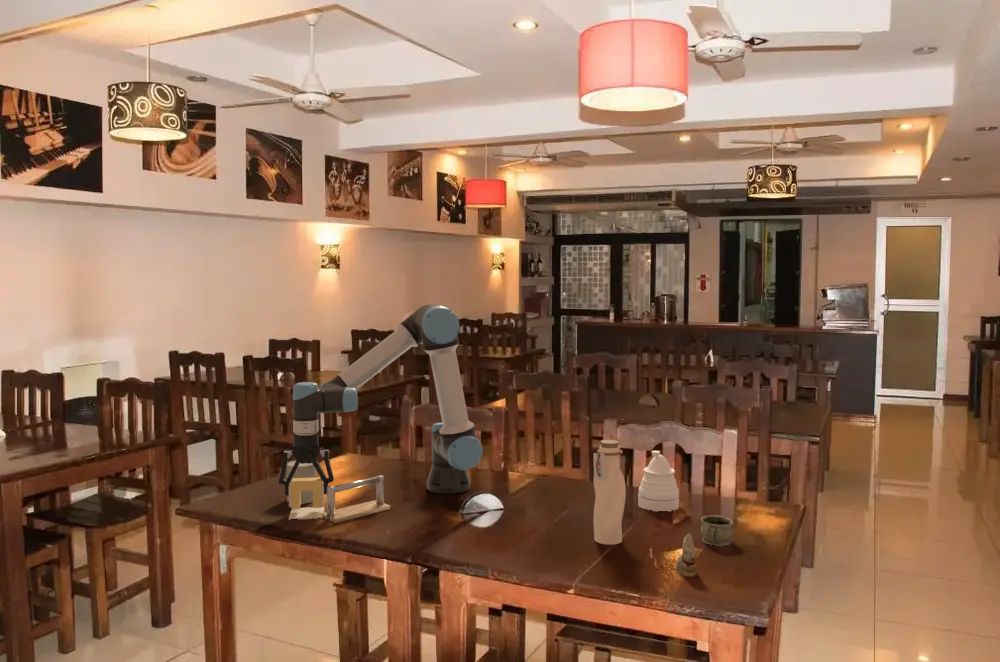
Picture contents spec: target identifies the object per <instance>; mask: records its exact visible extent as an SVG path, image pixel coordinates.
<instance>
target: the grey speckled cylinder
mask: <svg viewBox="0 0 1000 662" xmlns="http://www.w3.org/2000/svg"><path fill="white" fill-rule="evenodd" d="M295 462H296V459H295V460H290V461H288V463H287V468H286V479H287V478H288V476H289V474H290V472H291V470H292V468H293V466H294V464H295ZM314 477H317V470H316V468H315V467H314V465H313V464H312V463H304V464H301V463H299V465H298V467H297V469H296V471H295V473H294V475H293V477H292V478H314ZM291 480H292V479H291ZM289 484H291V481H290V483H289ZM286 502H287V503H288V502H289V496H286ZM306 503H307V504H310V503H313V491H301V505H305V504H306ZM307 504H306V505H307Z"/></svg>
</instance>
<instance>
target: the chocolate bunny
mask: <svg viewBox="0 0 1000 662" xmlns="http://www.w3.org/2000/svg"><path fill="white" fill-rule="evenodd" d="M681 548H682V549H681V550H682V554H680V555H679V556H678V557H677V560H676V564H675V569H676V572H677V573H678V575H681V576H683V577H686V578H694V577H696V575H697V571H696V569H697V568H698V567H697V566H698V565H697V559H698V551H697V549H696V547H695V544H694V539H693V536H692V534H690V533H687V534H686V536H684V538H683V542H682V546H681Z"/></svg>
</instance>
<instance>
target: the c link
mask: <svg viewBox="0 0 1000 662" xmlns="http://www.w3.org/2000/svg"><path fill="white" fill-rule="evenodd" d="M322 483H323V481H322V479H321V477H320V476H319V477H317V476H316V477H314V478H292V480H291V507H290V508H291V510H292V509H300V508H301V505H302V504H301V491H313V502H312V507H313V508H321V507H323V506H322V504H321V484H322Z"/></svg>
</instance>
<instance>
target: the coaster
mask: <svg viewBox="0 0 1000 662" xmlns="http://www.w3.org/2000/svg"><path fill="white" fill-rule="evenodd" d="M324 512H325V506H322V507H321V508H313V506H311V507H309V506H308V507H300V509H291V510H290V512H289V513H290V514H289V516H288V520H289V521H292V520H291V519H298V520H316V519H317V520H318V518H321V519H324V518H323V516H322V515H321V513H324ZM313 518H314V519H313Z"/></svg>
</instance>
